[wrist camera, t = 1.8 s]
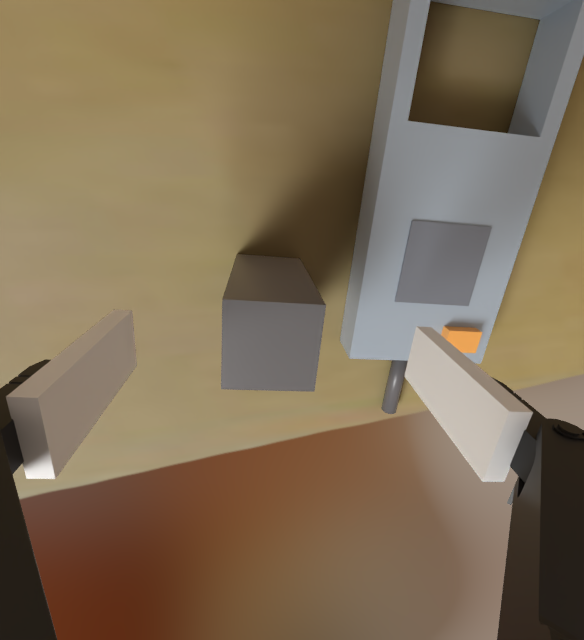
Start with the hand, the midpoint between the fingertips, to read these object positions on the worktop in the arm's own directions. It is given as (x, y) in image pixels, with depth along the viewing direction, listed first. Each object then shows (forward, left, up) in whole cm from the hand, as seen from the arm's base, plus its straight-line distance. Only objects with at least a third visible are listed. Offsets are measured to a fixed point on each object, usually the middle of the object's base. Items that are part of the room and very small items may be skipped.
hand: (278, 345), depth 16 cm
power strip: (+11, +5, -9) cm, 15 cm away
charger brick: (0, 0, -9) cm, 9 cm away
